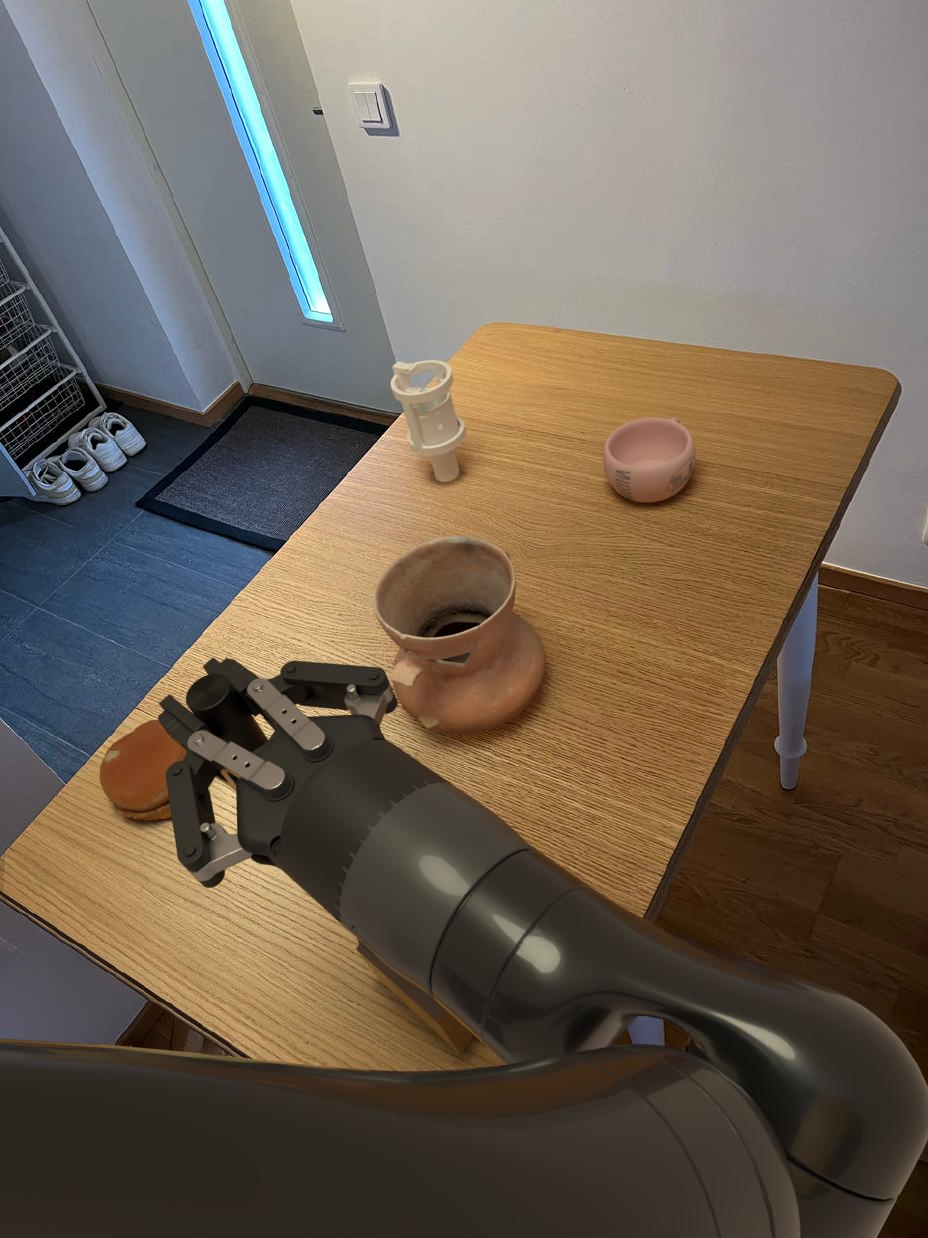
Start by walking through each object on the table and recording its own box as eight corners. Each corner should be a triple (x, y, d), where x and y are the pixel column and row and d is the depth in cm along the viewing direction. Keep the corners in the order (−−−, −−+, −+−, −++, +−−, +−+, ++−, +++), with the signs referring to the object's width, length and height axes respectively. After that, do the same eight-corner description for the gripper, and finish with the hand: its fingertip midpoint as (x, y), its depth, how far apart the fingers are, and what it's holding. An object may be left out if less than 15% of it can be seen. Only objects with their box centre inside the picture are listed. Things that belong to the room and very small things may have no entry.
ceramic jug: (494, 783, 72) (461, 684, 62) (366, 728, 79) (317, 630, 69) (586, 637, 81) (570, 529, 71) (463, 599, 88) (432, 496, 78)
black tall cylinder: (318, 875, 53) (206, 721, 41) (287, 848, 55) (172, 693, 43) (345, 847, 54) (243, 688, 42) (314, 821, 56) (208, 662, 44)
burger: (207, 810, 77) (184, 783, 73) (111, 837, 77) (84, 811, 74) (211, 726, 84) (191, 699, 80) (123, 751, 84) (99, 724, 81)
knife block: (460, 1055, 58) (438, 1023, 53) (382, 983, 63) (355, 948, 58) (513, 984, 61) (497, 948, 56) (435, 920, 65) (413, 881, 60)
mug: (668, 523, 90) (667, 480, 86) (589, 499, 95) (584, 457, 91) (719, 458, 95) (720, 415, 91) (641, 439, 100) (639, 397, 96)
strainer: (441, 451, 107) (412, 346, 97) (485, 463, 104) (461, 355, 93) (408, 484, 104) (375, 379, 93) (453, 497, 100) (424, 390, 90)
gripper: (499, 701, 36) (261, 563, 46) (257, 960, 30) (44, 739, 40) (524, 791, 41) (307, 650, 51) (323, 1025, 36) (121, 817, 45)
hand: (192, 690), depth 46 cm, fingers closed on black tall cylinder, 2 cm apart
